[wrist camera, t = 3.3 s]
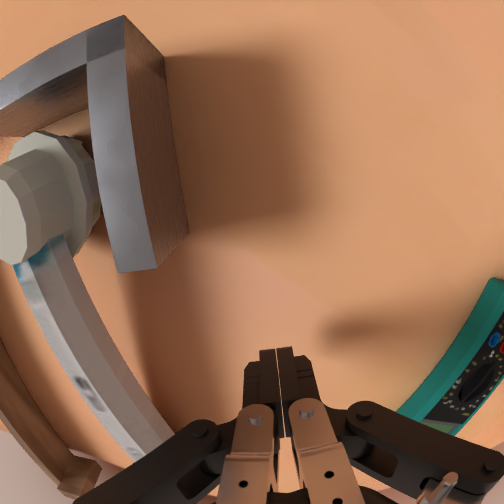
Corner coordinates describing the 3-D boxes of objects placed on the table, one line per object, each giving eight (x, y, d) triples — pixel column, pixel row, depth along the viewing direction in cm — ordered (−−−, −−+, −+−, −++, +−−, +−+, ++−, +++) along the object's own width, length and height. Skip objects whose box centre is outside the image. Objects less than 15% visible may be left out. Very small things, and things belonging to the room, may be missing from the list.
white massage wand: (148, 495, 16) (-63, 176, 6) (160, 433, 22) (23, 149, 12) (211, 499, 16) (1, 121, 6) (215, 433, 22) (93, 114, 12)
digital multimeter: (527, 300, 16) (548, 315, 13) (426, 435, 20) (437, 457, 17) (489, 265, 15) (516, 281, 12) (372, 427, 19) (382, 455, 16)
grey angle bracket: (163, 56, 12) (124, 14, 7) (189, 233, 14) (157, 268, 9) (22, 114, 12) (-37, 109, 7) (44, 257, 15) (-10, 289, 10)
